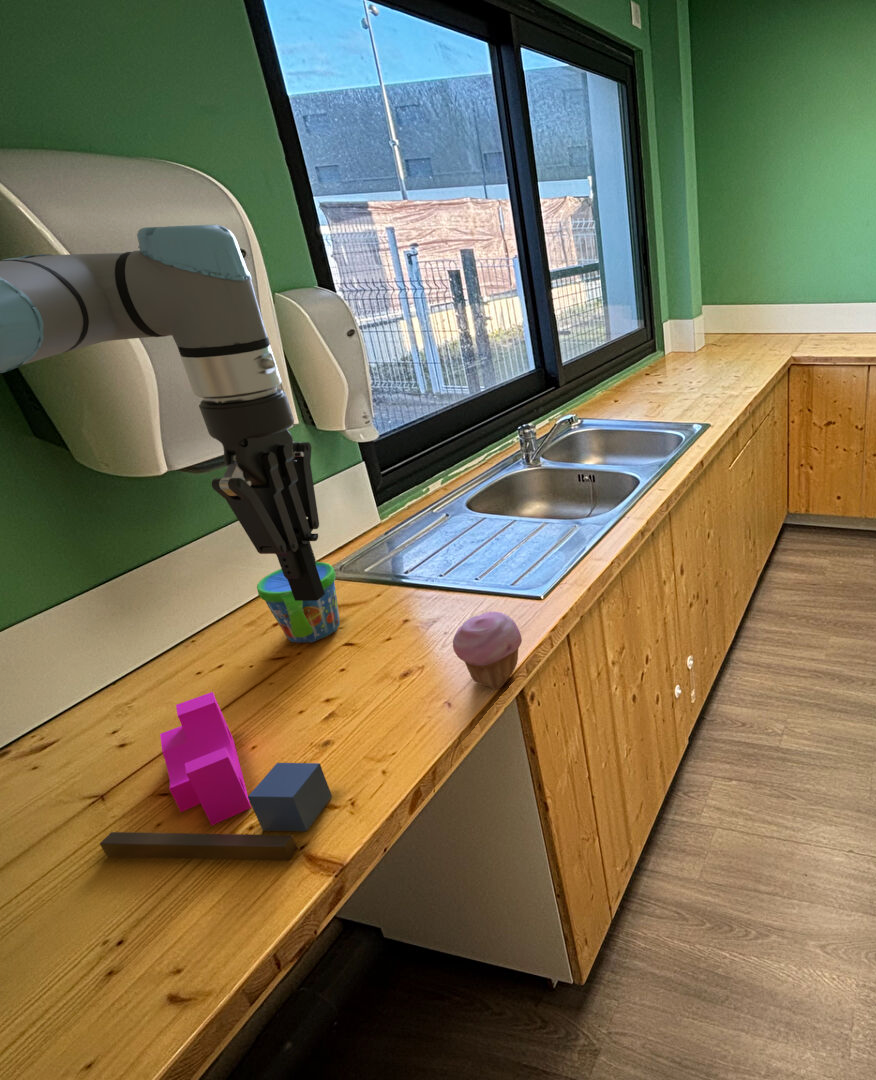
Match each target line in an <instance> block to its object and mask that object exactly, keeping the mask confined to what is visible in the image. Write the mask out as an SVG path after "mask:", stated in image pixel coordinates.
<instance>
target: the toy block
mask: <svg viewBox="0 0 876 1080" xmlns="http://www.w3.org/2000/svg"><path fill="white" fill-rule="evenodd" d="M175 707H176V714H177V718H178V720H179V723H180V726H177V727H175V728H172V729H169V730H167V731H164V732H161V733H159V736H160V745H161V746H160V747H161V752H162V755H163V757H164V762H165V765H166V769H167V773H168V779H169V788H168V790H169V792H170V794H171V796H172V798H173V799H174V801H175V804H176V805H177V807H178V809H179V812H180V813H182V812H184V811H187V810H190V809H191V808H195V807H196V806H199V805H201V808H202V809H203V811H204V813H205V815H206V817H207V819H208V821H209V823H210V825H211V826H214V825H216V824H219V823H221V822H223V821H225V820H227V819H229V818H232V817H235V816H237V815H238V814H241V813H244V812H245V811H248V810H250V809H252V805H251V803H250V801H249V799H248V796H249V794H248V790H247V787H246V783H245V778H244V776H243V772H242V767H241V763H240V760H239V755H238V751H237V747H236V744H235V740H234V738H233V735H232V732H231V730H230V728H229V726H228V723H227V721H226V718H225V716H224V714H223V712H222V709H221V708H220V705H219V703H218V701H217V698H216V696H215V694H214V692H213V691H211V692H208V693H205V694H203V695H200V696H197V697H195V698H191V699H188V700H185V701H183V702H180V703H178V704H175Z"/></svg>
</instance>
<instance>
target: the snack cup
mask: <svg viewBox="0 0 876 1080" xmlns="http://www.w3.org/2000/svg"><path fill="white" fill-rule="evenodd" d="M316 568H317V571H318V574H319V577H320V580H321V583H322V586H323V589H324V592H325V595H323V596H322V597H321V598H320V599H319V600H318V601H295V599H294V596H293V594H292V591H291V588H290V585H289V582H288V579H286V578H285V576H284V574H283V572H282V569H281V568H279V569H277V570H275V571H272V572H271V573H269V574H267V575H266V576H264V577H263V578H262V579H261V580H259V582H258V583H257V585H256V590H257V594H258V596H259V598H260V599H261V600H263V601H265V604H266V605H267V607H268V609H269V610H270V612H271V614H272V615H273V617H274V619H275V621H276V622H277V623H278V625H279V627H280V628H281V630H282V631H283V634H284V635H285V637H286V638H287V640H288V641H289V642H291V643H296V644H307V643H311V644H313V643H315V642H317V641H319V640H322V639H325V638H326V637H328V636H330V635H331V634H333V633H335V632H337V630H338V628H339V626H340V612H339V611H340V610H339V604H338V597H337V589H336V584H335V581H336V576H337V575H336V571H335V568H334V566H332V565H331V564H330V563H328V562H322V561H316Z"/></svg>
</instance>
